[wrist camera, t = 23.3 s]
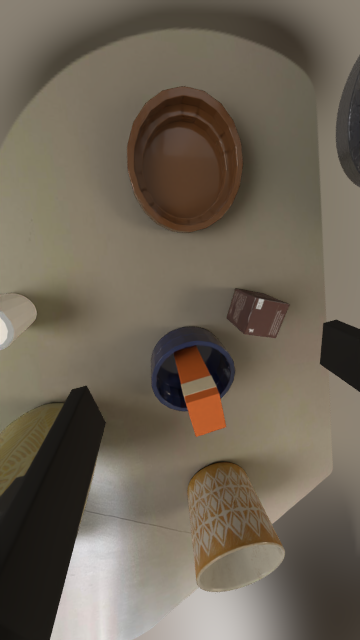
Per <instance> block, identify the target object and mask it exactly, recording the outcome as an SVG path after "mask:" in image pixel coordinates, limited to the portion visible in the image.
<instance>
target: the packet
mask: <svg viewBox="0 0 360 640" xmlns="http://www.w3.org/2000/svg"><path fill="white" fill-rule="evenodd" d="M174 357H175V361H176V365H177V369H178V373H179V377H180V381H181V387H182V391H183V395H184V399H185V402H186V405H187V408H188V412H189V415H190V418H191V422H192V425H193V428H194V432H195V435H196V437H197V436H200V435H203V434H206V433H209V432H213V431H216V430H219V429H222V428H225V427H226V424H225V419H224V414H223V409H222V404H221V399H220V394H219V392H218V390H217V387H216V384H215V382H214V380H213V378H212V376H211V375H210V373H209V371H208V369H207V367H206V365H205V363H204V361H203V359H202V357H201V355H200V353H199V351H198V349H197V347H196V345H195V346H191V347H188V348H185V349H181V350H178V351H176V352H174Z"/></svg>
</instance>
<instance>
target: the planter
mask: <svg viewBox="0 0 360 640" xmlns="http://www.w3.org/2000/svg"><path fill="white" fill-rule="evenodd" d="M187 493H188V504H189V513H190V523H191V533H192V542H193V552H194V562H195V571H196V581H197V585H198V586H199V587H200V588H201V589H203V590H205V591H209V592H223V591H230V590H234V589H238V588H241V587H244V586H247V585H249V584H252V583H254V582H256V581H258V580H260V579H262V578H264V577H265V576H267V575H268V574H270V573H271V572H273V571H274V570H275V569H276V568H277V567H278V566H279V565H280V564H281V562H282V561H283V559H284V556H285V550H284V548H283V547H282V544H281V542H280V540H279V538H278V536H277V534H276V532H275V530H274V528H273V526H272V524H271V522H270V520H269V518H268V516H267V514H266V512H265V510H264V508H263V506H262V504H261V502H260V500H259V498H258V496H257V494H256V492H255V490H254V489H253V487H252V485H251V483H250V481H249V479H248V477H247V475H246V473H245V471H244V470H243V469H242V468H241V467H239V466H238V465H236V464H233V463H228V462H222V463H216V464H212V465H209V466H207V467H205V468H203V469H201V470H200V471H199V472H197V473H196V474H195V475H194V476H193V478H192V479H191V481H190V483H189V486H188V492H187Z"/></svg>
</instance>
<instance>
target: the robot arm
mask: <svg viewBox="0 0 360 640" xmlns="http://www.w3.org/2000/svg"><path fill="white" fill-rule="evenodd" d="M320 364H321V365H322V366H324V367H325V368H326V369H328V370H329V371H331V372H332V373H334V374H335V375H337V376H338V377H339V378H341V379H342V380H344V381H345V382H346V383H348V384H349V385H351V386H352V387H354V388H355V389H357V390H358V391H359V392H360V329H358V328H355V327H353V326H350V325H348V324H345V323H343V322H340V321H338V320H334V321H330V322H326V323H323V335H322V346H321V358H320ZM105 424H106V422H105V420H104V418H103V416H102V414H101V412H100V410H99V409H98V407H97V405H96V403H95V401H94V399H93V397H92V395H91V393H90V391H89V389H88V387H87V386H83V387H80V388H76V389H72V390H71V392H70V394H69V396H68V398H67V399H66V401H65V403H64V405H63V407H62V409H61V410H60V412H59V414H58V416H57V418H56V419H55V421H54V423H53V425H52V427H51V428H50V430H49V432H48V434H47V436H46V438H45V439H44V441H43V443H42V445H41V447H40V448H39V450H38V452H37V454H36V456H35V457H34V459H33V461H32V463H31V465H30V467H29V468H28V470H27V472H26V474H25V475H24V476H20V477H17V478H16V479H15V480H14V481H13V482H12V483H11V484H10V486H9V487H8V488H7V489H6V490H5V491H4V493H3V494H2V495H1V496H0V640H50V637H51V633H52V629H53V625H54V622H55V618H56V614H57V610H58V606H59V602H60V598H61V594H62V591H63V587H64V583H65V579H66V575H67V571H68V567H69V563H70V560H71V556H72V552H73V548H74V544H75V540H76V536H77V532H78V529H79V525H80V521H81V517H82V513H83V509H84V505H85V501H86V497H87V494H88V490H89V486H90V482H91V478H92V474H93V470H94V466H95V463H96V459H97V455H98V451H99V447H100V443H101V439H102V435H103V432H104V428H105Z"/></svg>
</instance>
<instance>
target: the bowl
mask: <svg viewBox="0 0 360 640" xmlns="http://www.w3.org/2000/svg"><path fill="white" fill-rule="evenodd" d="M127 162H128V173H129V177H130V181H131V184H132V188H133V191H134V195H135V197H136V199H137V201H138V202H139V204H140V206H141V207H142V209H143V211H144V212H145V213H146V214H147V215H148V216H149V217H150V218H151V219H152V220H153V221H154V222H155V223H156V224H158V225H159V226H161V227H164V228H166V229H168V230H170V231H172V232H182V233H189V232H193V231H197V230H201V229H204V228H207V227H209V226H210V225H212V224H213V223H215V222H216V221H218V220H219V219H220V218H221V217H222V216H223V215H224V214H225V212H226V211H227V210H228V209H229V207H230V206H231V205H232V203H233V201H234V199H235V196H236V194H237V192H238V189H239V187H240V181H241V175H242V169H243V159H242V147H241V141H240V138H239V135H238V132H237V129H236V127H235V124H234V121H233V120H232V118H231V117H230V115H229V114H228V113H227V111H226V110H225V108H224V107H223V105H222V104H221V103H220V102H219V101H217V100H216V99H214V98H213V97H212V96H210V95H209V94H207V93H206V92H205V91H202V90H198V89H194V88H189V87H185V86H184V87H183V86H181V87H176V88H171V89H167V90H163V91H161V92H160V93H159V94H157V95H156V96H155V97H153V98H152V99H150V100H149V101H148V102H146V103H145V105H144V107H143V108H142V110H141V111H140V113H139V114H138V116H137V117H136V119H135V121H134V123H133V126H132V130H131V133H130V137H129V141H128V145H127Z"/></svg>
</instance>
